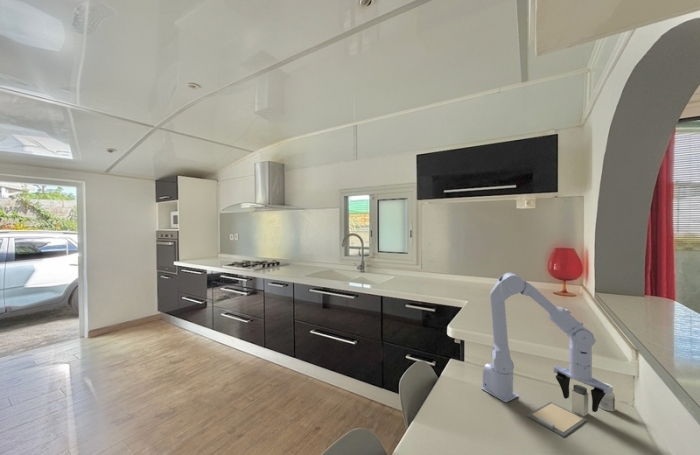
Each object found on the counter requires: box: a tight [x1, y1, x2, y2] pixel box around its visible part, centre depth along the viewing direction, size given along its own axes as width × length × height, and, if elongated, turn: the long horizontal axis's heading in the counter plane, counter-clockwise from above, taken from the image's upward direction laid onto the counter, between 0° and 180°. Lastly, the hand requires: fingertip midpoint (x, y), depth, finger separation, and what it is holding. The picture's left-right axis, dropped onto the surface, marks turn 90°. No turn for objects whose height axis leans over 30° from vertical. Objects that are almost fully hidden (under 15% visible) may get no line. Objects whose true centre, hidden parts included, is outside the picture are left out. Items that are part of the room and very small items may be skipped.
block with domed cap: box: [571, 384, 589, 417], centre depth 88 cm, size 3×3×8 cm
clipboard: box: [526, 401, 588, 438], centre depth 85 cm, size 10×15×1 cm, turn 119°
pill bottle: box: [598, 381, 616, 412], centre depth 91 cm, size 4×4×8 cm
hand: (580, 403), depth 88 cm, fingers open, 7 cm apart
